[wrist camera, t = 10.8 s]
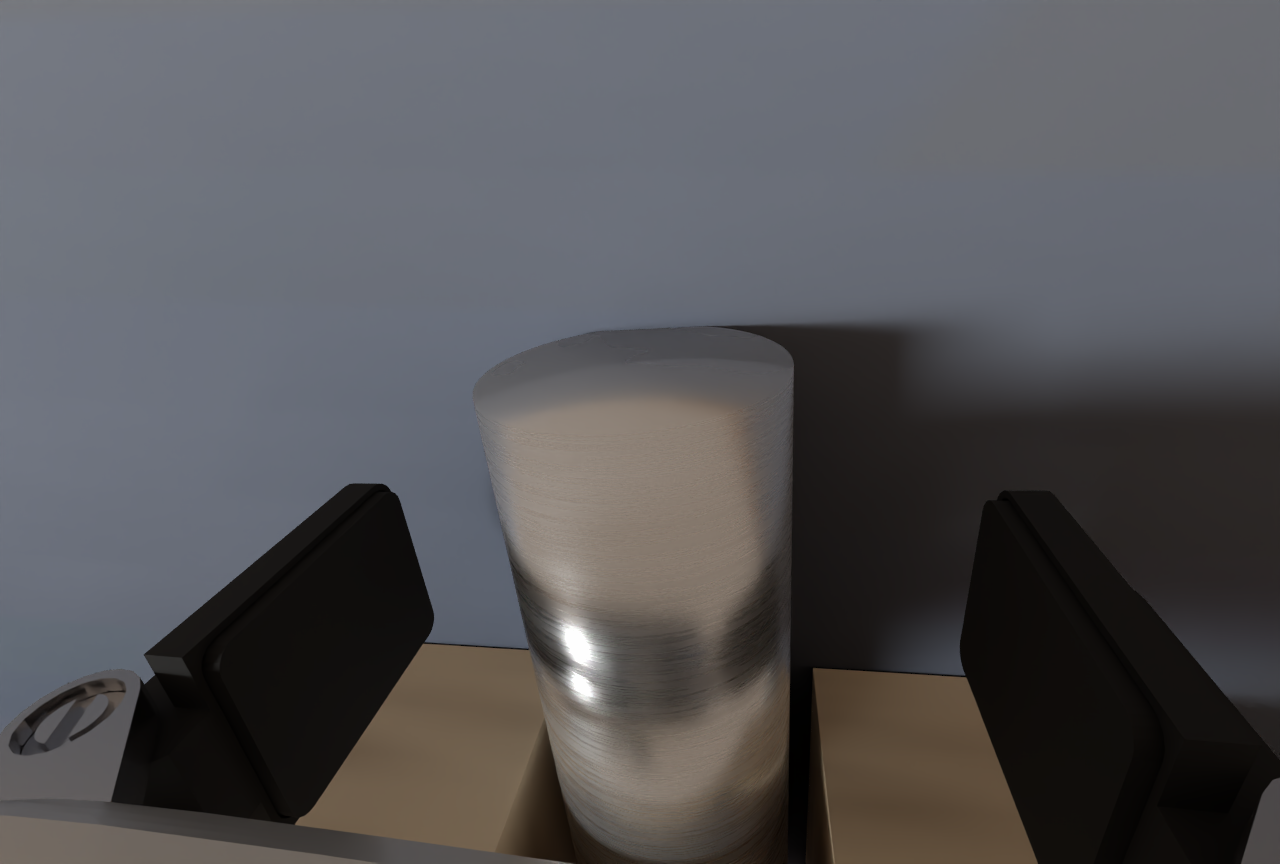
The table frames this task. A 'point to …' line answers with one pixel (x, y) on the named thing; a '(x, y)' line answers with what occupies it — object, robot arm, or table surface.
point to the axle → (654, 581)
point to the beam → (533, 804)
